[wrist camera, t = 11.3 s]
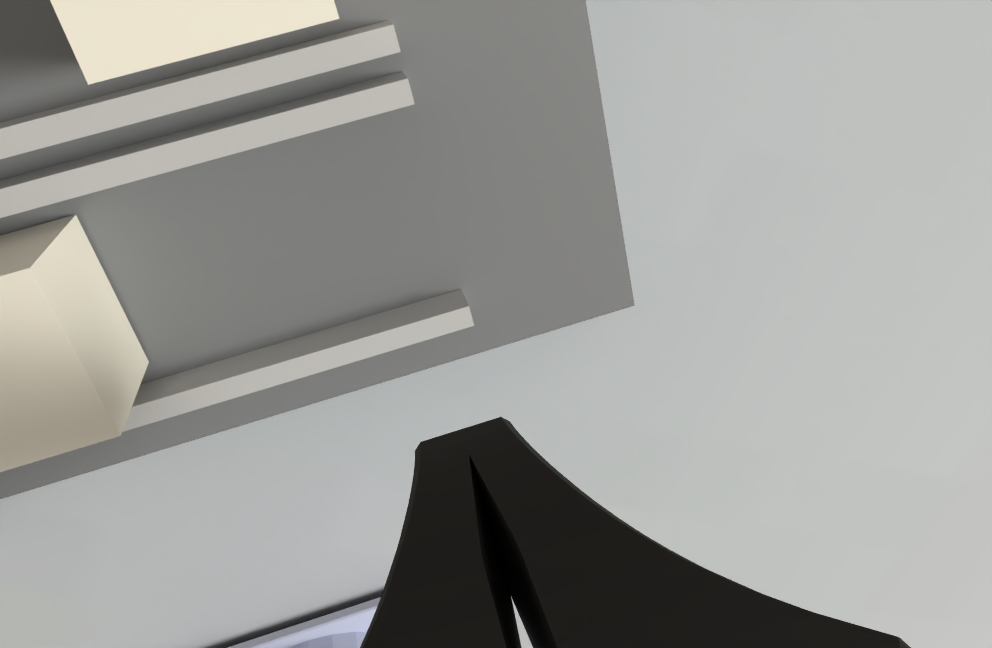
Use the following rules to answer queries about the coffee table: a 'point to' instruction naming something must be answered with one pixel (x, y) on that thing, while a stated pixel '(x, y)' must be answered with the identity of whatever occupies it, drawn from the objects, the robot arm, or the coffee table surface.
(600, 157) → the switch board
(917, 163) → the coffee table surface
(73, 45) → the tab
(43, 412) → the tab
